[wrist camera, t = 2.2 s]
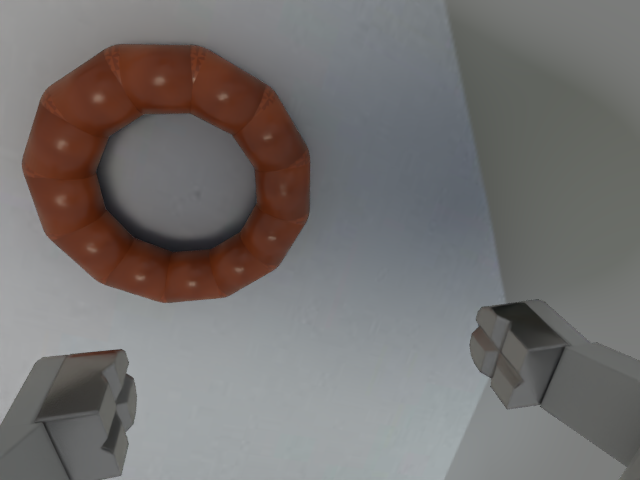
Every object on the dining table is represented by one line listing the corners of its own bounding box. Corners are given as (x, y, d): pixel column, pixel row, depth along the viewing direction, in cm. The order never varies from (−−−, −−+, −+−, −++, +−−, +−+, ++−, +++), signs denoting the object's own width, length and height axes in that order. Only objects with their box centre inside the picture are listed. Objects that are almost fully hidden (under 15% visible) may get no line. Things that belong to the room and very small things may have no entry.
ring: (306, 44, 16) (316, 48, 14) (304, 272, 22) (312, 299, 20) (0, 40, 14) (-39, 44, 12) (82, 291, 20) (64, 323, 18)
